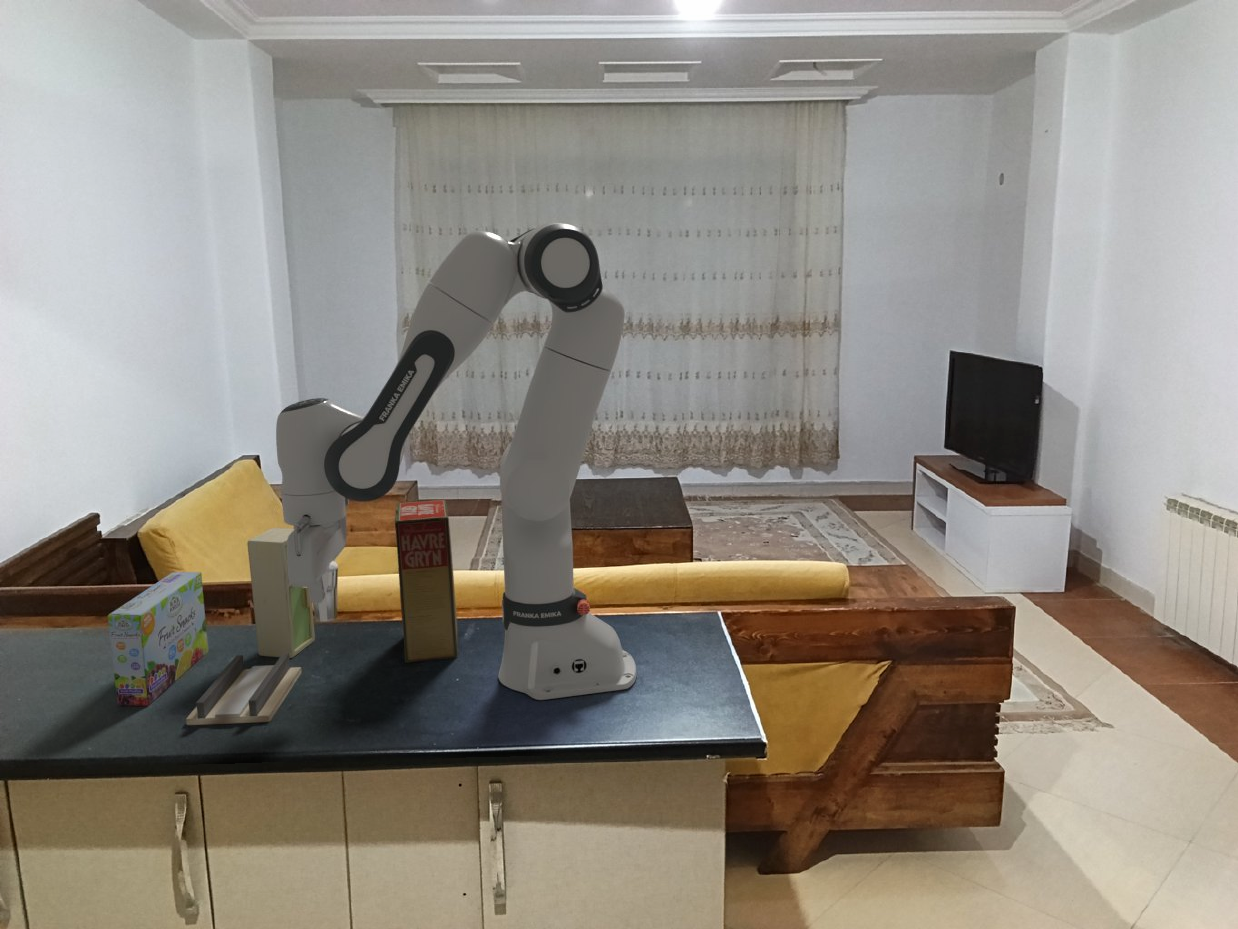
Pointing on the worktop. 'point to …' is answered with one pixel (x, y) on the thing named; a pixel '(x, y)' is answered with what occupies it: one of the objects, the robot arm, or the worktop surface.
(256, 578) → the toy refrigerator
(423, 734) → the worktop surface
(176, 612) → the snack box
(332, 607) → the milkshake
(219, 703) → the rail plate
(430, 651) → the food packaging
